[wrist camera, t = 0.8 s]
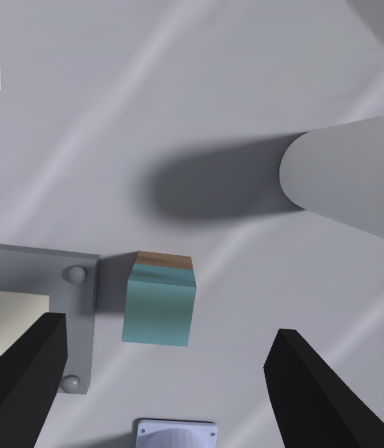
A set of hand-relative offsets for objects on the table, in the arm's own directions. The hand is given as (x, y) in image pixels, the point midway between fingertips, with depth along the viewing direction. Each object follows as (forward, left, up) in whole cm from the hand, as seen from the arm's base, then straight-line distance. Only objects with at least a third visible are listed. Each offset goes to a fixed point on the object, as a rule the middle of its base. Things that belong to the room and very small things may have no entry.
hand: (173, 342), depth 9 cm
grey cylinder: (+7, -11, -15) cm, 20 cm away
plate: (-9, +12, -14) cm, 21 cm away
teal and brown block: (-4, 0, -14) cm, 15 cm away
